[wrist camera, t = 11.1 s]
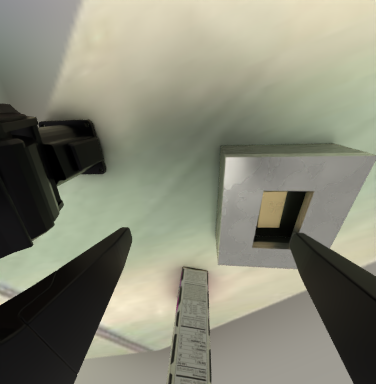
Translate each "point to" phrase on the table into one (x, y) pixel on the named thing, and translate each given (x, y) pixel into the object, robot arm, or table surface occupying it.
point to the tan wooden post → (271, 209)
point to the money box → (284, 181)
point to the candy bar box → (191, 331)
